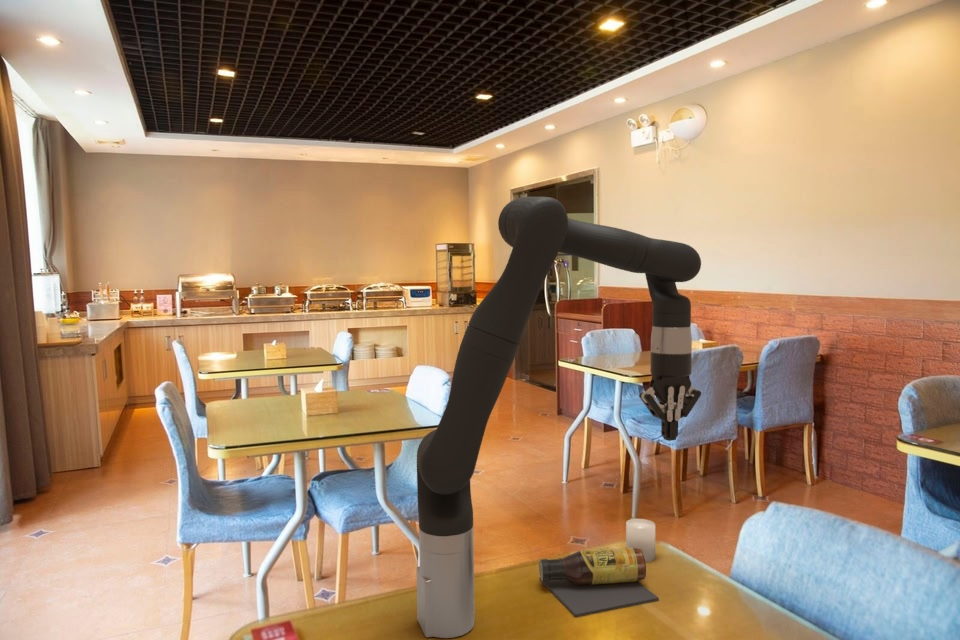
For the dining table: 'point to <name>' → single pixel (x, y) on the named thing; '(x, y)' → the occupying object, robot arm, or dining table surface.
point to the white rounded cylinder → (641, 537)
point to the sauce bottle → (596, 567)
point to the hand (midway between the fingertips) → (669, 439)
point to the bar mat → (599, 596)
